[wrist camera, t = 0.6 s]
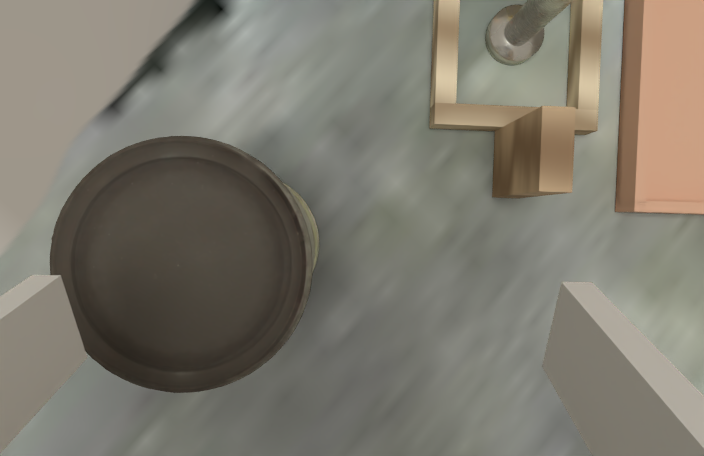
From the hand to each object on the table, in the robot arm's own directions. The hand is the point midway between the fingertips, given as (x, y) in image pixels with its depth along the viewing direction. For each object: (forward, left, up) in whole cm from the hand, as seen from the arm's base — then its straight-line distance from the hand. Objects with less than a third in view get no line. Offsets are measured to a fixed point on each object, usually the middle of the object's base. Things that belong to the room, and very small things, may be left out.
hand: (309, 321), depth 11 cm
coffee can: (+1, +5, -20) cm, 20 cm away
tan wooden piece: (+13, -14, -20) cm, 27 cm away
